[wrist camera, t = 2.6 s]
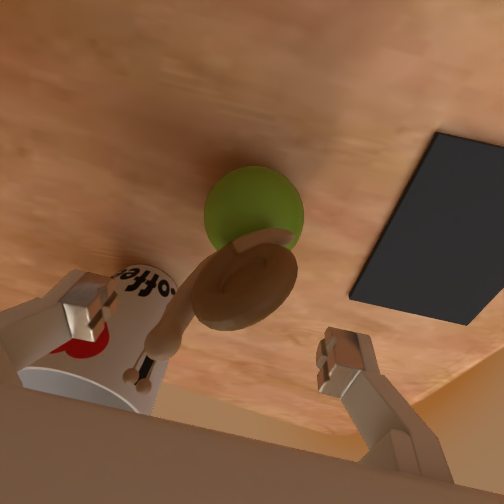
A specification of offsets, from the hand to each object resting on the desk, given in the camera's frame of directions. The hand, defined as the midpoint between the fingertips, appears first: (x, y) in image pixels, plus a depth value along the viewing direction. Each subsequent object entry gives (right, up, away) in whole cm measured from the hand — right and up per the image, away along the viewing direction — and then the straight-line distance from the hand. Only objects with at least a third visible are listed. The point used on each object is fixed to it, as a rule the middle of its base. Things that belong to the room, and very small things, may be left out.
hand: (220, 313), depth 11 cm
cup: (-7, -1, +13) cm, 15 cm away
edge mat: (+14, +3, +7) cm, 16 cm away
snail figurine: (+1, +6, +7) cm, 10 cm away
